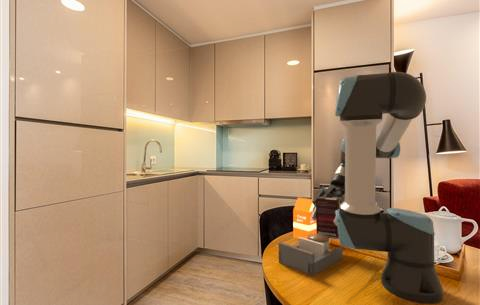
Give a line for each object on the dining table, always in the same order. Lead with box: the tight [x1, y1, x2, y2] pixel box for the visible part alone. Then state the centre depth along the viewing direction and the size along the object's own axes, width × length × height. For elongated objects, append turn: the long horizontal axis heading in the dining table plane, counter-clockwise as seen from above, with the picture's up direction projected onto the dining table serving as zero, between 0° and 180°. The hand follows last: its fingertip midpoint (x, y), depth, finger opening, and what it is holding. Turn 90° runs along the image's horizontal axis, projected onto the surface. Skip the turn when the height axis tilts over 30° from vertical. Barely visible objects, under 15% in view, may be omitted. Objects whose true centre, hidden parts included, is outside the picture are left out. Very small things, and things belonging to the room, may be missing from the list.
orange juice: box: [292, 197, 317, 240], centre depth 118 cm, size 8×9×20 cm
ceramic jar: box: [307, 233, 330, 253], centre depth 95 cm, size 8×8×8 cm
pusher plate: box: [297, 237, 325, 259], centre depth 92 cm, size 10×1×7 cm, turn 41°
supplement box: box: [316, 197, 340, 240], centre depth 101 cm, size 9×5×16 cm, turn 57°
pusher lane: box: [278, 242, 343, 277], centre depth 92 cm, size 14×21×8 cm, turn 131°
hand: (323, 221), depth 99 cm, fingers closed on supplement box, 9 cm apart
